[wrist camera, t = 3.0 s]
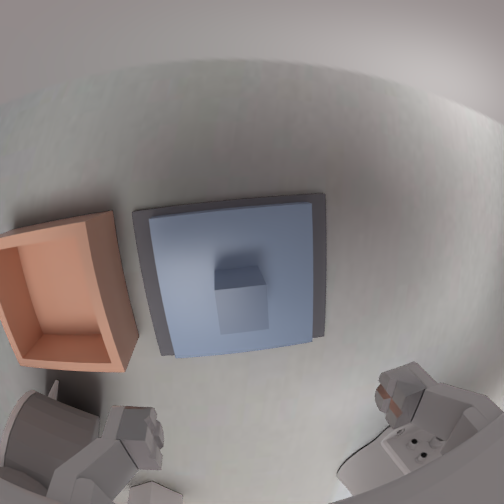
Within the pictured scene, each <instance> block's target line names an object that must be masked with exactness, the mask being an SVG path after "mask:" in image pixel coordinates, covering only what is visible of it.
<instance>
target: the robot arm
mask: <svg viewBox="0 0 504 504" xmlns="http://www.w3.org/2000/svg"><path fill="white" fill-rule="evenodd" d="M379 382H380V383H381V384H380V385H379V387H378V388H377V389H376V393H375V402H376V405H377V407H378V408H379V410H380V411H382V412H384V413H386V417H385V419H386V420H387V422H388V423H389V424H390V427H389V428H387V429H386V430H385V431H384V432H383V433H382V434H381V435H380V436H379V437H378V438H377V439H376V440H375V441H373V442H372V443H370V444H369V445H367V446H366V447H364V448H363V449H361V450H360V451H359V452H357V453H356V454H355V455H353V456H352V457H351V458H350V459H349V460H347V461H346V462H345V463H344V464H343V466H342V467H341V468H340V470H339V472H338V474H337V477H338V479H339V480H340V481H341V482H342V483H343V484H344V485H345V487H346V488H347V489H348V490H349V491H350V493H351V494H352V495H353V496H352V497H349V498H346V499H343V500H339V501H336V502H333V503H329V504H504V412H503V411H502V410H501V409H500V408H499V407H498V406H497V405H496V404H495V403H494V402H493V401H492V400H490V399H489V398H488V397H487V396H486V395H482V394H478V393H475V392H471V391H467V390H464V389H460V388H457V387H454V386H450V385H447V384H444V383H437V382H436V381H435V380H434V379H433V378H432V377H431V376H430V375H429V374H428V373H427V372H426V371H425V370H424V369H423V368H422V367H421V366H420V365H419V364H418V363H416V362H412V363H409V364H406V365H404V366H400V367H398V368H395V369H392V370H389V371H386V372H383V373H381V375H380V377H379ZM156 419H157V413H156V411H155V408H153V407H133V406H115V405H113V406H112V407H111V409H110V412H109V415H108V418H107V421H106V424H105V427H104V430H103V433H102V436H101V438H96V439H95V440H94V441H93V442H91V443H90V444H89V445H87V446H86V447H85V448H83V449H82V450H81V451H80V452H78V453H77V454H76V455H74V456H73V457H72V458H70V459H69V460H68V461H66V462H65V463H64V464H62V465H61V466H60V467H58V468H57V469H55V471H54V474H53V477H52V480H51V482H50V485H49V488H48V492H47V495H46V497H45V496H42V495H39V494H36V493H34V492H31V491H29V490H26V489H24V488H21V487H19V486H17V485H14V484H12V483H10V482H8V481H6V480H4V479H2V478H0V504H115V503H114V502H113V500H114V498H115V497H116V496H117V495H118V494H119V493H120V492H121V490H122V489H123V488H124V487H125V486H126V485H127V483H128V482H129V481H130V480H131V479H132V478H133V476H134V475H135V474H136V473H137V472H138V469H144V470H161V468H162V457H163V455H162V453H161V451H160V449H161V448H162V447H163V446H164V432H163V428H162V425H161V423H160V422H159V421H158V420H156Z"/></svg>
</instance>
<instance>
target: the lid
mask: <svg viewBox="0 0 504 504" xmlns="http://www.w3.org/2000/svg"><path fill="white" fill-rule="evenodd" d="M149 225H150V232H151V239H152V246H153V252H154V258H155V264H156V270H157V275H158V281H159V286H160V291H161V296H162V301H163V306H164V311H165V315H166V320H167V324H168V329H169V333H170V337H171V341H172V345H173V349H174V353H175V357H176V358H187V357H200V356H212V355H222V354H231V353H240V352H248V351H256V350H263V349H270V348H277V347H284V346H290V345H296V344H302V343H307V342H312V331H313V226H312V203H309V202H296V203H282V204H269V205H257V206H245V207H234V208H224V209H214V210H204V211H195V212H186V213H178V214H169V215H161V216H153V217H151V218H150V219H149Z"/></svg>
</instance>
